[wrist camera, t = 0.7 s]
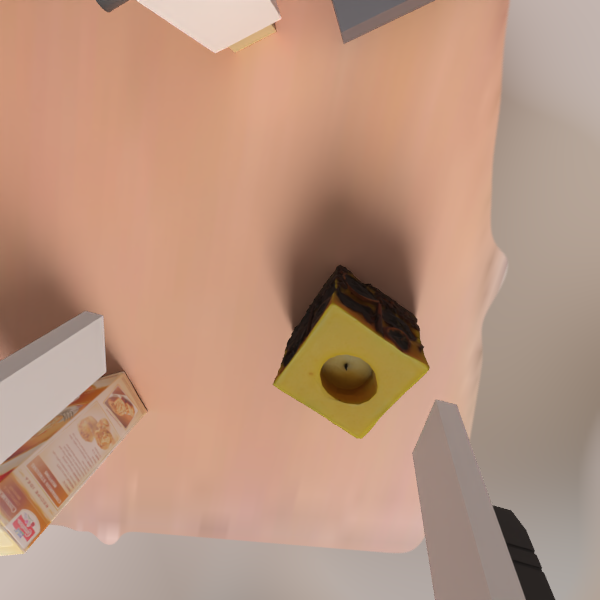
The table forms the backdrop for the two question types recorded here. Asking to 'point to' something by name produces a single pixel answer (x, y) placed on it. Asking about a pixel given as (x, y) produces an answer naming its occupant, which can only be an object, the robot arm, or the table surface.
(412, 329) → the candle
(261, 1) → the plug
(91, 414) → the coffeecake box
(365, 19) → the socket
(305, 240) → the table surface
